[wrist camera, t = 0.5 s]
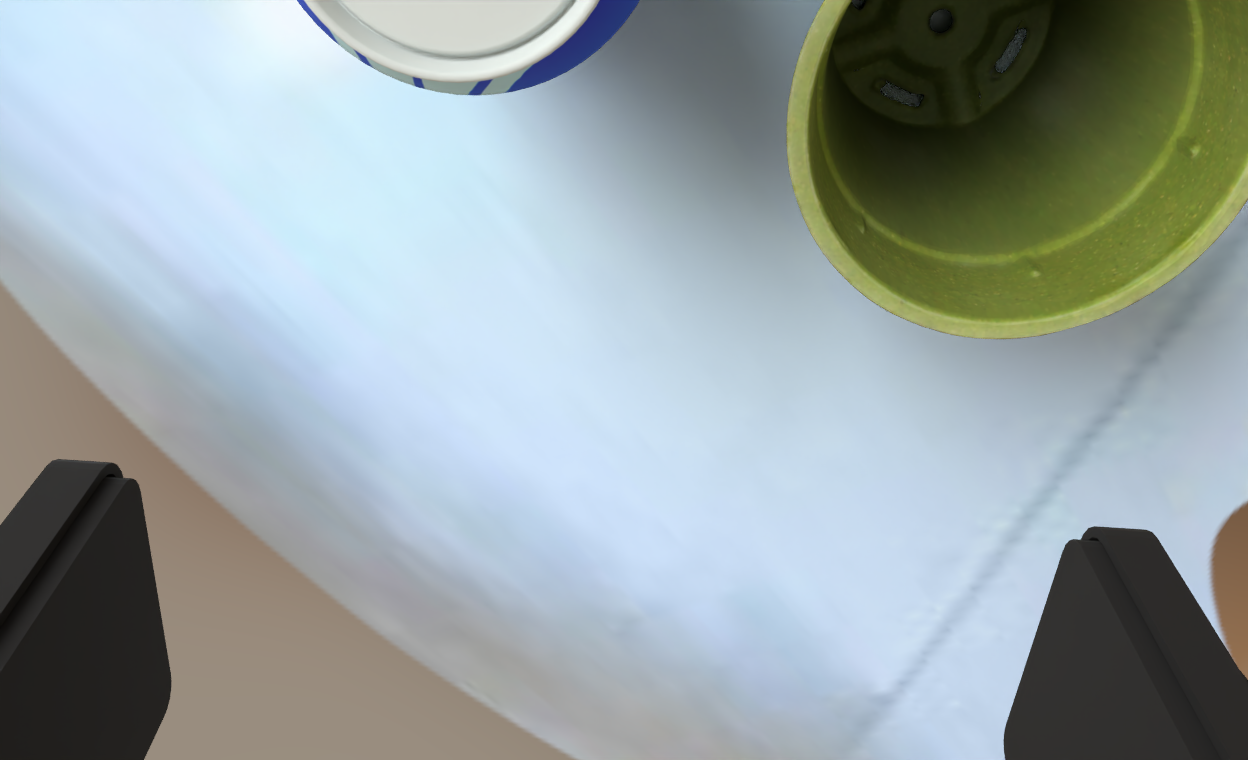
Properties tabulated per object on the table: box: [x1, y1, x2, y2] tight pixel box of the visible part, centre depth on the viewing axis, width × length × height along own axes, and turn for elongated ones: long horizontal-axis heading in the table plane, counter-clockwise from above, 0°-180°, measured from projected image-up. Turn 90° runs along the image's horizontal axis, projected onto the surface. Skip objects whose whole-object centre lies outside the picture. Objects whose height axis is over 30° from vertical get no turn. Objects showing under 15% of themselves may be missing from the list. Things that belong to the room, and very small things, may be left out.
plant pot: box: [787, 0, 1248, 339], centre depth 33 cm, size 12×12×11 cm
